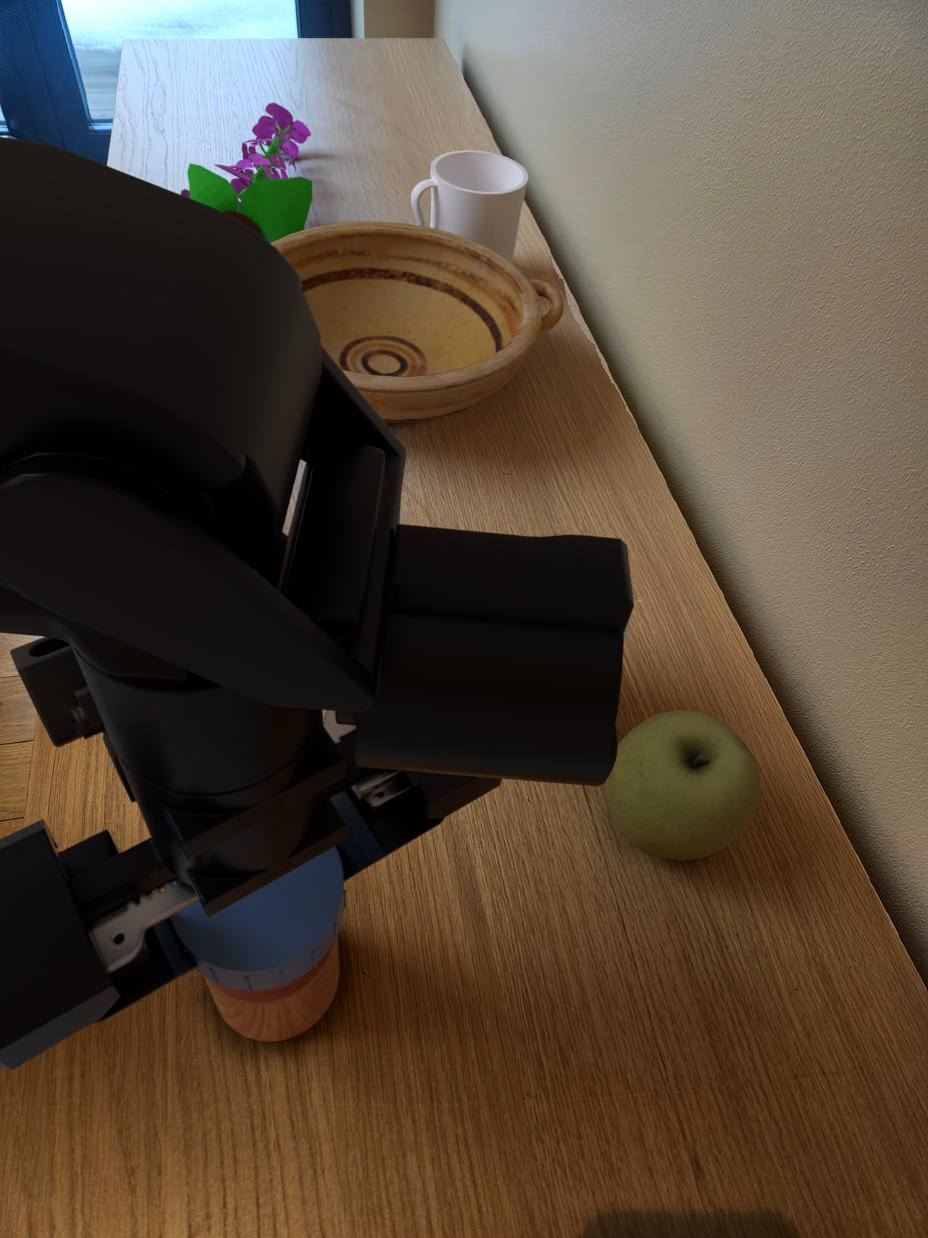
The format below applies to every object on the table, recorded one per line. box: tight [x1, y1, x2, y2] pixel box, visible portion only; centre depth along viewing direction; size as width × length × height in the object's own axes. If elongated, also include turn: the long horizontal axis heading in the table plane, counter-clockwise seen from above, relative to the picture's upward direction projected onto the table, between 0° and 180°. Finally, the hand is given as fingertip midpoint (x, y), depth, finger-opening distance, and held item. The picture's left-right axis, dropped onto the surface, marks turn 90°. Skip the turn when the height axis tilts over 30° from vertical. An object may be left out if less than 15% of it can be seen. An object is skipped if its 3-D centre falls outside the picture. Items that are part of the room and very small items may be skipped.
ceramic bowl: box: [270, 220, 565, 424], centre depth 70 cm, size 30×24×8 cm
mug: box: [410, 149, 529, 263], centre depth 81 cm, size 11×9×10 cm
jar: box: [202, 937, 340, 1043], centre depth 39 cm, size 6×6×8 cm
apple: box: [604, 709, 762, 861], centre depth 46 cm, size 8×8×7 cm
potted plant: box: [180, 102, 313, 243], centre depth 85 cm, size 12×16×35 cm
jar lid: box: [169, 846, 347, 992], centre depth 34 cm, size 7×7×2 cm
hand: (264, 914), depth 36 cm, fingers closed on jar lid, 6 cm apart
